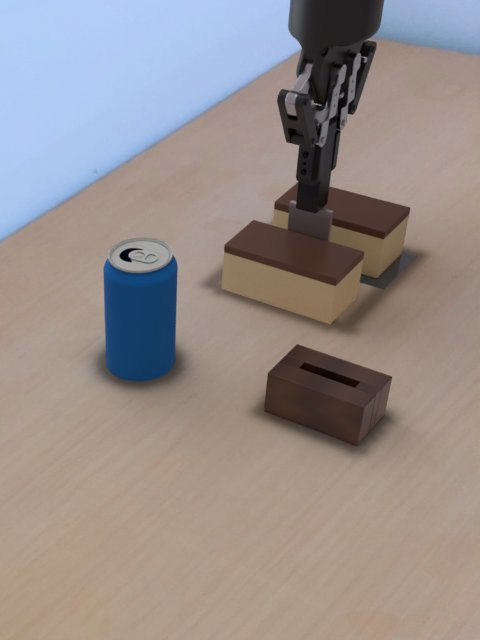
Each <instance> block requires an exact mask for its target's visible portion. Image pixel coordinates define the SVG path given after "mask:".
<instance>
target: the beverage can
mask: <svg viewBox="0 0 480 640" xmlns="http://www.w3.org/2000/svg"><path fill="white" fill-rule="evenodd" d="M178 266H179V265H178V261H177V259H176V257H175V256H174V251H173V248H172V246H171V245H170V244H169V243H168V242H167V241H165V240H162V239H160V238H157V237H152V236H136V237H135V236H134V237H128V238H125V239H122V240H120V241H118V242H115V244H113V245H111V247H110V249H109V250H108V253H107V258H106V260H105V262H104V265H103V299H104V300H103V302H104V303H103V304H104V305H103V306H104V338H105V339H104V341H105V343H104V344H105V366H106V368H107V370H108V371H109V372H110V373H111V374H112V375H114V376H115V377H117V378H119V379H122V380H125V381H130V382H147V381H152V380H156V379H159V378H161V377H163V376H165V375H166V374H168V373H169V372H170V371H171V370H172V369H173V367H174V365H175V363H176V340H177V339H176V337H177V304H178V303H177V299H178V268H179V267H178Z"/></svg>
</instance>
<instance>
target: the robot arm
mask: <svg viewBox="0 0 480 640" xmlns="http://www.w3.org/2000/svg"><path fill="white" fill-rule="evenodd" d="M384 5H385V0H289V11H288V20H287V21H288V22H287V30H288V32H289V34H290V35H291V37H293V39H295V40H296V41H297V42H298V43H299V45H300V47H301V50H300V54H299V58H298V62H297V65H296V70H295V75H296V81H295V82H294V84H293V85H292V87H291V88H290V89H285V88H281V89H280V91H279V92H278V94H277V97H276V103H277V107H278V113H279V116H280V120H281V127H282V129H283V134H284V139H285V143H287V144H292V145H295V146H298V153H297V163H296V171H295V179H296V181H297V182H300V183H304V184H307V185H311V186H315V185H316V184H317V183H319V182H320V180H321V176H322V168H323V160H324V152H325V141H326V137H327V131H328V126H329V120H330V119H331V118H334V119H337V128H336V136H335V145H334V153H333V161H332V170H331V172H333V170H335V169H336V168H337V163H338V154H339V150H340V149H339V148H340V142H341V135H342V134H341V133H342V131H343V130H344V129H345V127H346V125H347V123H348V116H349V115H351V116H353V115H355V114H356V111H357V109H358V107H359V103H360V100H361V97H362V94H363V91H364V88H365V85H366V81H367V79H368V75H369V72H370V70H371V67H372V63H373V61H374V57H375V54H376V51H377V47H378V44H377V43H378V42H377V41H374V40H370V39H371V38H373V37H374V36H375V35H376V34H377V33H378V31H379V29H380V28H381V24H382V19H383V18H382V17H383V12H384ZM314 119H316V120H317V121H318V127H317V131H316V126H315V121H314Z"/></svg>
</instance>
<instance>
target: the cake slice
mask: <svg viewBox="0 0 480 640" xmlns="http://www.w3.org/2000/svg"><path fill="white" fill-rule="evenodd" d="M363 258H364V251H361V250H357V249H354V248H350V247H347V246H343V245H340V244H336V243H333V242H329V241H326V240H322V239H319V238H315V237H312V236H308V235H305V234H301V233H298V232H294V231H291V230H287V229H284V228H280V227H277V226H273V225H272V224H270V223H266V222H262V221H259V220H256V219H252V220H251V221H250V222H249V223H248V224H247V225H246V226H245V227H243V228H242V229H241V230H240V231H238V232H237V233H236V234H235V235H234V236H233V237H232V238H230V239H229V240H228V241H227V242H226V243H225V244H224V245H223V259H222V260H223V261H222V278H221V280H222V281H221V290H224V291H227V292H230V293H233V294H235V295H239V296H242V297H245V298H248V299H250V300H254V301H257V302H259V303H263V304H265V305H266V304H267V305H269V306H272V307H276V308H278V309H282V310H285V311H288V312H291V313H294V314H297V315H300V316H303V317H306V318H310V319H313V320H315V321H318V322H322V323H325V324H327V325H331V324H332V323H333V322H334V321H336V319H338V317H339V316H340V315H342V314H343V312H344V311H345V310H346V309H347V308H348V307H349V306H350V305H351V304H353V302H354V301H356V299H357V298H358V294H359V288H360V284H361V283H360V277H361V271H362V265H363Z"/></svg>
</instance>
